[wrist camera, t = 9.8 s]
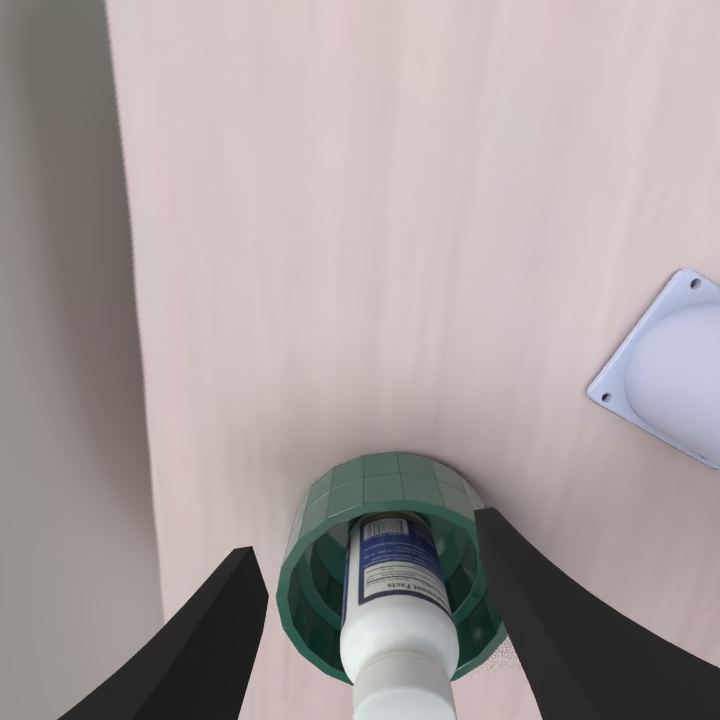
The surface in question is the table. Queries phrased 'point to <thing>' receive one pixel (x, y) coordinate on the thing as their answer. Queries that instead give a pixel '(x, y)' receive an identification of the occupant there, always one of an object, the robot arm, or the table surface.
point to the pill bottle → (397, 621)
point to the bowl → (329, 544)
